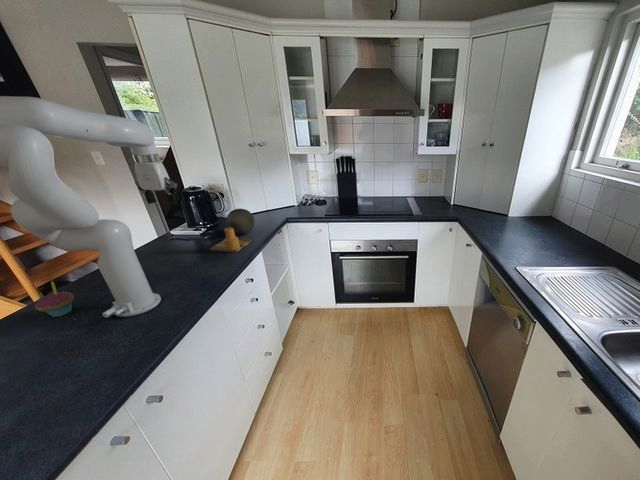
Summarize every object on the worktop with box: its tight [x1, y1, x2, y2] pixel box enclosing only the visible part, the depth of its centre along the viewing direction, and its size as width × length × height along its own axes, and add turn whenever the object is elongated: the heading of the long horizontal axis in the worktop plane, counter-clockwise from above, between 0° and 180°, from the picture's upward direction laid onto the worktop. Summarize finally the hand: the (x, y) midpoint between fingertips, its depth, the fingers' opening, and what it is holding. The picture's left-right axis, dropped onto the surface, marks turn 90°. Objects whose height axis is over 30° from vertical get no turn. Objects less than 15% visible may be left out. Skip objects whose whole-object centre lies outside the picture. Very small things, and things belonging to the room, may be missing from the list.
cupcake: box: [34, 279, 75, 318], centre depth 89 cm, size 9×8×12 cm
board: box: [209, 238, 252, 253], centre depth 142 cm, size 14×14×1 cm
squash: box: [223, 226, 240, 250], centre depth 135 cm, size 6×6×11 cm
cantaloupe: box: [226, 208, 256, 236], centre depth 153 cm, size 14×14×15 cm
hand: (163, 203), depth 111 cm, fingers open, 9 cm apart
